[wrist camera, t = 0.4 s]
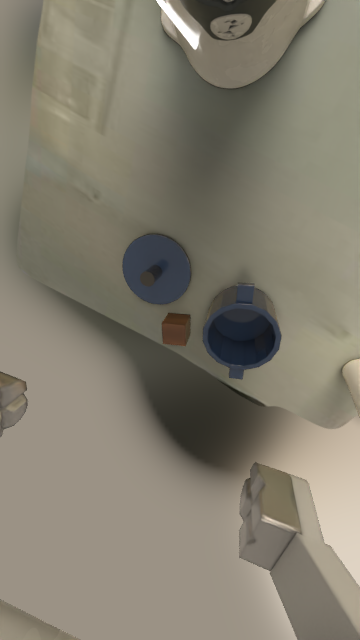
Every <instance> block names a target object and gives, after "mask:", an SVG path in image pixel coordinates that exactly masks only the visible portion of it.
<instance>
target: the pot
mask: <svg viewBox="0 0 360 640" xmlns="http://www.w3.org/2000/svg"><path fill="white" fill-rule="evenodd" d="M254 287H255V285H254V284H253V283H238V286H234V287H230V288H227V289H225V290H224V291H222V292H221V293H219V294H218V295H217V296H216V297H215V298H214V300H213V302H212V304H211V306H210V308H209V311H208V314H207V317H206V321H205V324H204V327H203V343H204V345H205V347H206V350H207V352H208V353H209V354H210V355H211V356H212V357H213V358H214V359H215V360H216V361H217V362H218V363H220V364H222V365H225V366H227V367H229V368H230V371H229V378H235V379H243V373H244V370H246V369H251V368H256V367H260V366H261V365H263V364H265V363H267V362H268V361H270V360H271V359H272V358H273V356H274V355H275V354H276V352H277V351H278V350H279V347H280V341H281V332H280V328H279V324H278V320H277V316H276V312H275V309H274V306H273V303H272V301H271V300H270V298H269V297H268V296H267V295H266V294H265V293H264V292H262V291H261V290H259V289H257V288H254Z"/></svg>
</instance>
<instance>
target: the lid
mask: <svg viewBox="0 0 360 640" xmlns="http://www.w3.org/2000/svg"><path fill="white" fill-rule="evenodd" d="M123 274H124V277H125V280H126V282H127V284H128V286H129V287H130V289H131V290H132V291H133V292H134V293H135V294H136V295H137V296H138V297H139V298H141V299H143V300H144V301H147V302H149V303H153V304H168V303H171V302H173V301H175V300H177V299H178V298H180V297H181V296H182V295H183V294H184V292H185V291H186V289H187V287H188V285H189V283H190V278H191V267H190V262H189V259H188V257H187V255H186V253H185V251H184V250H183V249H182V248H181V246H180V245H179V244H178V243H176V242H175V241H174V240H172V239H170V238H168V237H166V236H163V235H159V234H149V235H145V236H142V237H140V238H138V239H136V240H135V241H133V242H132V243H131V244H130V245H129V247H128V248H127V250H126V252H125V254H124V258H123Z"/></svg>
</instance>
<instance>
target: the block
mask: <svg viewBox="0 0 360 640" xmlns="http://www.w3.org/2000/svg"><path fill="white" fill-rule="evenodd" d="M162 334H163V344H171V345H180V346H186V344H187V341H188V338H189V336H190V315H184V314H173V313H168V314H167V316H166V318H165V319H164V321H163V322H162Z"/></svg>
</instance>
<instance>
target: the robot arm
mask: <svg viewBox="0 0 360 640" xmlns="http://www.w3.org/2000/svg"><path fill="white" fill-rule="evenodd" d="M156 1H157V2H158V3H159V4H160V6H161V7H162V9H161V22H162V25H163V28H164V30H165V32H166V33H167V34H168V35H169V36H170V37H171V38H172V39H173V40H174V41H176V42H177V43H178V44H180V45H181V47H182V48H183V50H184V52H185V54H186V56H187V58H188V60H189V62H190V63H191V65H192V67H193V68H194V70H195V71H196V72H197V73H198V74H199V75H200V76H201V77H202V78H203V79H204V80H205V81H207V82H208V83H210V84H212V85H214V86H217V87H221V88H239V87H243V86H246V85H248V84H251V83H253V82H254V81H256V80H258V79H259V78H261V77H262V76H263V75H265V74H266V73H267V72H268V71H269V70H270V69H271V68H272V67H273V66H274V65H275V64H276V63H277V62H278V61H279V59H280V58H281V57H282V55H283V54H284V52H285V51H286V49H287V48H288V46H289V44H290V43H291V41H292V39H293V38H294V36H295V34H296V33H297V31H298V30H299V29H300V28H301V27H302V26H303V25H304V24H305V23H306V22H307V21H308V20H310V19H311V18H312V17H313V16H314V15H315V14H316V13H317V12H318V11H319V10H320V8H321V7H322V6H323V4H324V2H325V0H156ZM26 390H27V387H26V382H25V381H23V380H21V379H18V378H16V377H13V376H10V375H8V374H5V373H3V372H0V437H1V436H2V433H3V430H4V429H6V428H9V427H12V426H14V425H15V424H16V423H17V422H18V421H19V420H20V419H21V418H22V416H23V415H24V413H25V412H26V408H27V398H26V397H25V395H24V392H25V391H26ZM250 476H251V478H249V479H246V481H245V483H244V486H243V489H242V493H241V498H240V515H241V517H242V519H243V521H244V522H243V524H242V526H241V528H240V532H239V539H240V540H239V546H240V548H239V549H240V550H239V557H240V558H242V559H244V560H247V561H248V562H251V563H253V564H255V565H257V566H260V567H262V568H264V569H267V570H269V571H271V572H270V575H271V577H272V579H273V582H274V584H275V586H276V589H277V591H278V594H279V596H280V599H281V601H282V603H283V606H284V608H285V611H286V613H287V615H288V618H289V620H290V623H291V625H292V627H293V629H294V632H295V634H296V637H297V639H298V640H360V587H359V585H358V584H357V583H356V581H355V580H354V579H353V577H352V576H351V574H350V573H349V571H348V570H347V569H346V567H345V566H344V564H343V563H342V561H341V560H340V559H339V557H338V556H337V554H336V553H335V552H334V551H333V549H332V547H331V546H329V545H327V544H325V543H324V539H323V536H322V532H321V528H320V524H319V520H318V517H317V513H316V510H315V505H314V502H313V498H312V494H311V490H310V487H309V484H308V482H307V481H306V480H305V479H302V478H299V477H296V476H294V475H291V474H287V473H285V472H282V471H279V470H276V469H274V468H270V467H268V466H265V465H262V464H259V463H254V464H253V466H252V468H251V470H250ZM0 640H80V639H78V638H76V637H74V636H72V635H70V634H68V633H66V632H64V631H62V630H60V629H58V628H56V627H54V626H52V625H50V624H48V623H46V622H44V621H42V620H40V619H38V618H36V617H34V616H32V615H30V614H28V613H26V612H24V611H22V610H20V609H18V608H16V607H14V606H12V605H10V604H8V603H6V602H4V601H2V600H1V599H0Z"/></svg>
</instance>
